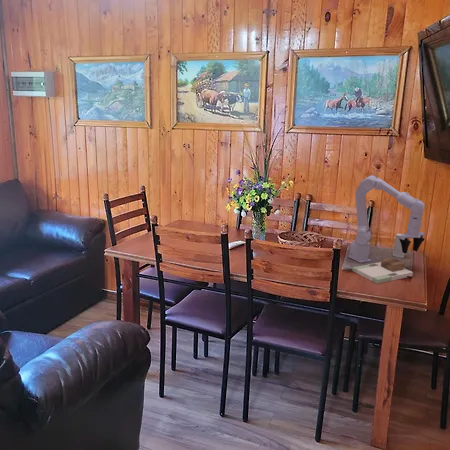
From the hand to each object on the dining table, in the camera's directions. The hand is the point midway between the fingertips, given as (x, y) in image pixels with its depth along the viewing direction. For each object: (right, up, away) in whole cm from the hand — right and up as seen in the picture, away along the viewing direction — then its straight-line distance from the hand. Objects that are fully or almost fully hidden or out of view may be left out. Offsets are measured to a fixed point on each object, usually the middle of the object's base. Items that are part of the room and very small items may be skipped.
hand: (409, 251), depth 218 cm
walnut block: (-9, -8, -2) cm, 12 cm away
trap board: (-15, -10, -4) cm, 19 cm away
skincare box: (+3, -4, +21) cm, 21 cm away
